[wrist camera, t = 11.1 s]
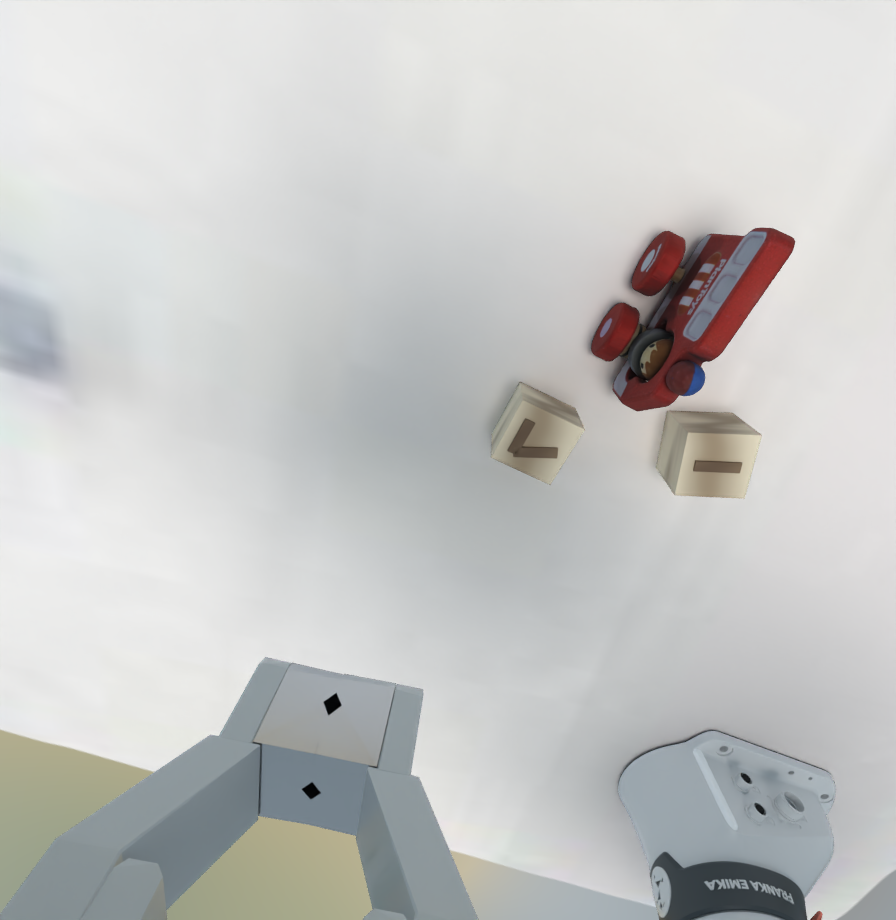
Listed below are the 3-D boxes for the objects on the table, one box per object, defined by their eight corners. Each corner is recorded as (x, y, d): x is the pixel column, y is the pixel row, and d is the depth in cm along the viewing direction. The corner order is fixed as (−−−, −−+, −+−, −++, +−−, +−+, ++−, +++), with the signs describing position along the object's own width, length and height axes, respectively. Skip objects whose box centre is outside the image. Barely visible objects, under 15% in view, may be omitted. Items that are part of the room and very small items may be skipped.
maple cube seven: (575, 407, 41) (585, 430, 36) (544, 458, 43) (550, 486, 38) (519, 381, 40) (522, 400, 36) (491, 433, 42) (490, 458, 38)
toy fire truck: (573, 367, 40) (597, 409, 30) (668, 207, 35) (733, 197, 25) (649, 406, 40) (696, 459, 31) (753, 254, 35) (848, 262, 26)
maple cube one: (731, 412, 40) (763, 436, 35) (717, 470, 42) (745, 499, 37) (666, 410, 40) (688, 433, 36) (655, 467, 42) (675, 496, 38)
